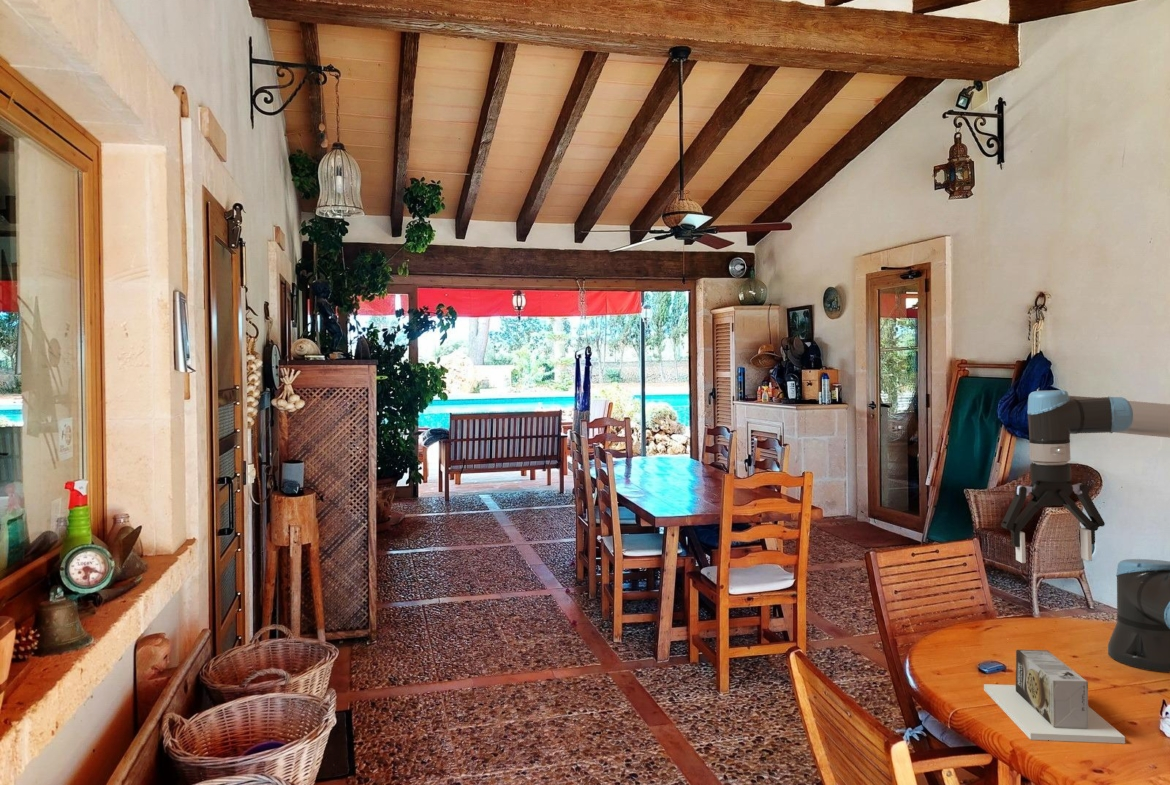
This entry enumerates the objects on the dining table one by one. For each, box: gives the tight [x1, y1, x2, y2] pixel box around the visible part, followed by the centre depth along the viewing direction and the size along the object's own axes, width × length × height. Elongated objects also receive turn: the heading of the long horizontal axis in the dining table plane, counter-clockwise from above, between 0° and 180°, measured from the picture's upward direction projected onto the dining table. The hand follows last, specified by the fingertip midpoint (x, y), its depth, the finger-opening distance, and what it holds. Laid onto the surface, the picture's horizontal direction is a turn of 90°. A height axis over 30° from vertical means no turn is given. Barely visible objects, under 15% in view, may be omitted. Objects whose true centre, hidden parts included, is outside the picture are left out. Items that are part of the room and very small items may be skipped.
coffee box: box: [1015, 649, 1089, 729], centre depth 150 cm, size 9×6×16 cm
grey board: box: [983, 683, 1126, 745], centre depth 150 cm, size 16×22×1 cm
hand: (1053, 560), depth 166 cm, fingers open, 13 cm apart
